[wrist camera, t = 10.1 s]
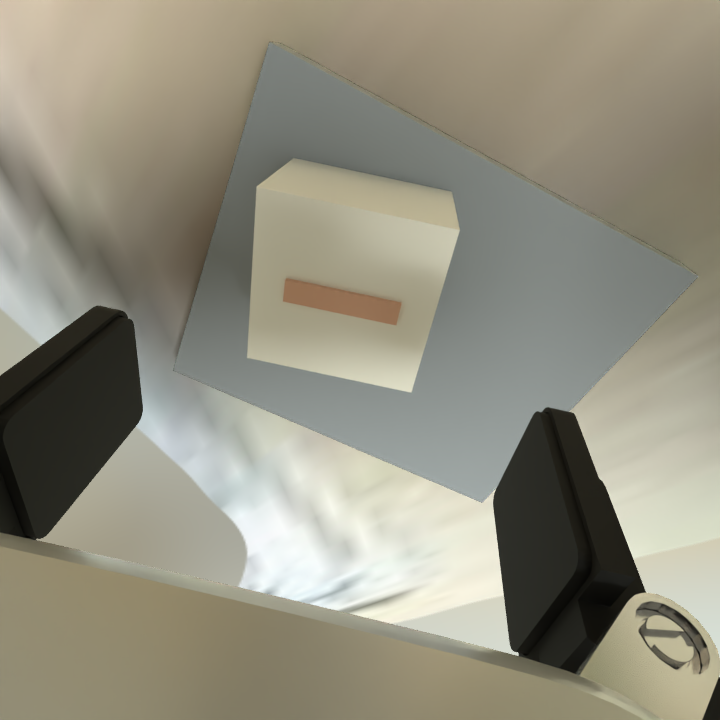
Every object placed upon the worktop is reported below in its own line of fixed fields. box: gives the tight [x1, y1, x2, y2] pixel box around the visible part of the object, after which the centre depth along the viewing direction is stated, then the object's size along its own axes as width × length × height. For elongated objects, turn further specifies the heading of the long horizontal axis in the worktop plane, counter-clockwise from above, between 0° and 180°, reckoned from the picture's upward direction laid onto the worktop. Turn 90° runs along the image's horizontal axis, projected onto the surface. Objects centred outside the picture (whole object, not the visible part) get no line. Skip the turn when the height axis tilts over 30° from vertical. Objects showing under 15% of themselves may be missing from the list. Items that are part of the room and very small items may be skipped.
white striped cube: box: [247, 158, 460, 393], centre depth 18 cm, size 6×6×5 cm
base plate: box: [173, 42, 698, 503], centre depth 23 cm, size 19×16×2 cm
